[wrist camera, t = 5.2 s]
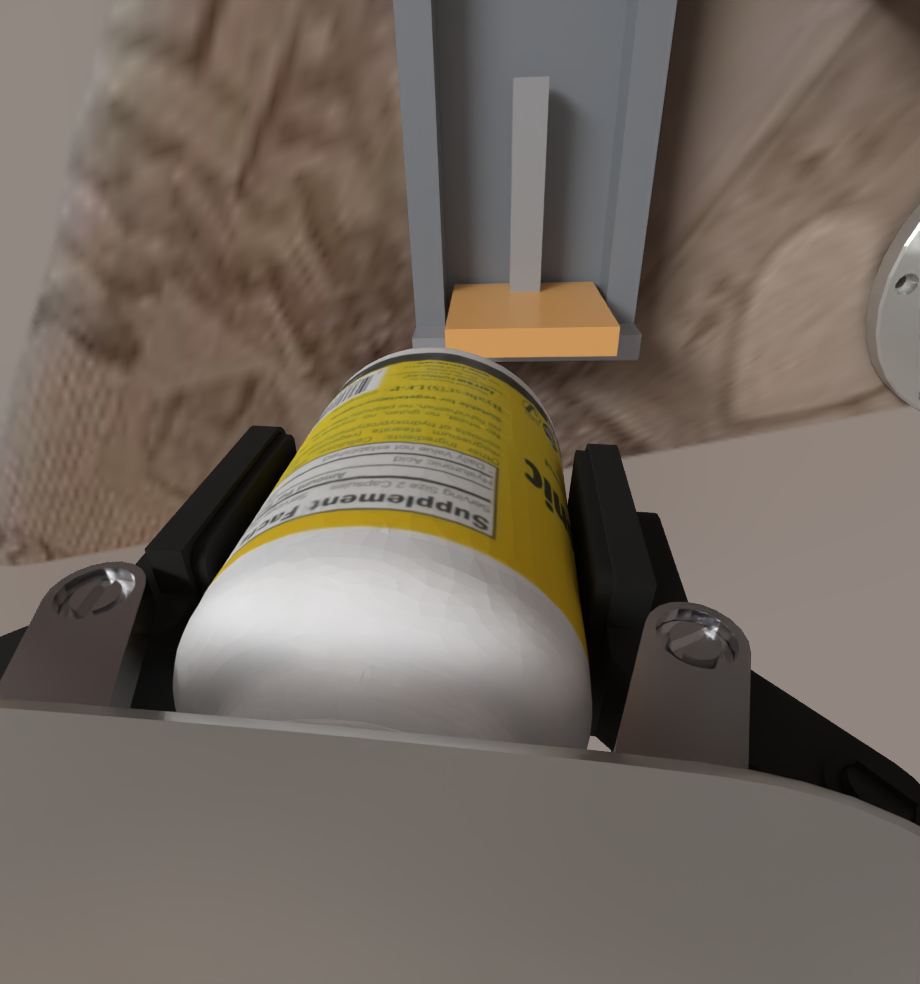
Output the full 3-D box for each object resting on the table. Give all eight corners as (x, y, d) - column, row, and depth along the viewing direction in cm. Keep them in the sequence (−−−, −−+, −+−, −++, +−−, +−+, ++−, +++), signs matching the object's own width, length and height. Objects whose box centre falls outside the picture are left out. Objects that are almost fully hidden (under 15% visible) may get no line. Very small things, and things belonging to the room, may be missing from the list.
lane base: (683, -198, 17) (729, -272, 14) (619, 328, 26) (638, 360, 23) (391, -179, 18) (367, -247, 15) (423, 331, 27) (414, 362, 23)
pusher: (611, 76, 20) (652, 62, 15) (590, 305, 25) (616, 355, 20) (448, 82, 21) (432, 71, 16) (455, 308, 25) (446, 358, 20)
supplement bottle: (545, 556, 15) (574, 1118, 6) (334, 536, 15) (104, 1052, 7) (580, 348, 12) (716, 903, 3) (315, 327, 12) (-143, 799, 4)
